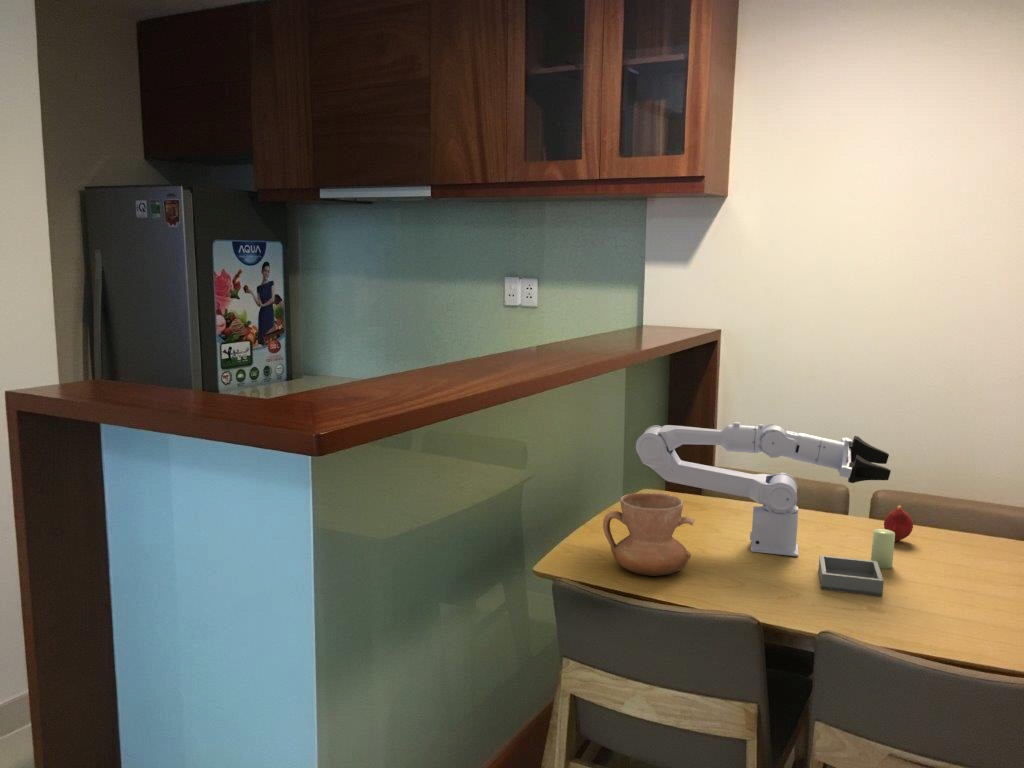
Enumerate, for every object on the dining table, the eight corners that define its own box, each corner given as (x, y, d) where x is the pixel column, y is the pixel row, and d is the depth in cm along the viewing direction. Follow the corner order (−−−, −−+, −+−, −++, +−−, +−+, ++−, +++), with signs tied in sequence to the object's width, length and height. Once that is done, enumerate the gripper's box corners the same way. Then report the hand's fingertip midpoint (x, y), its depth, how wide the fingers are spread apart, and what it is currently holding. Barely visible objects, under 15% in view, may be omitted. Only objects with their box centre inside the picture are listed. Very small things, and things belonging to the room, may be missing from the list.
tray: (821, 589, 157) (822, 573, 157) (818, 569, 167) (819, 555, 167) (882, 596, 154) (883, 580, 154) (876, 575, 164) (877, 561, 164)
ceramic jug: (698, 561, 171) (699, 493, 169) (688, 586, 157) (690, 513, 155) (611, 552, 177) (611, 486, 175) (594, 575, 163) (595, 504, 161)
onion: (914, 546, 181) (917, 510, 180) (886, 544, 182) (889, 509, 181) (907, 537, 187) (910, 503, 185) (880, 535, 188) (882, 501, 187)
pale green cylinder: (871, 567, 168) (874, 534, 167) (869, 560, 172) (872, 528, 171) (893, 569, 167) (896, 536, 166) (890, 563, 171) (893, 530, 170)
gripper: (822, 448, 165) (895, 465, 161) (823, 420, 178) (892, 434, 174) (814, 479, 168) (885, 496, 164) (816, 449, 181) (883, 464, 177)
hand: (888, 466), depth 169 cm, fingers open, 7 cm apart
